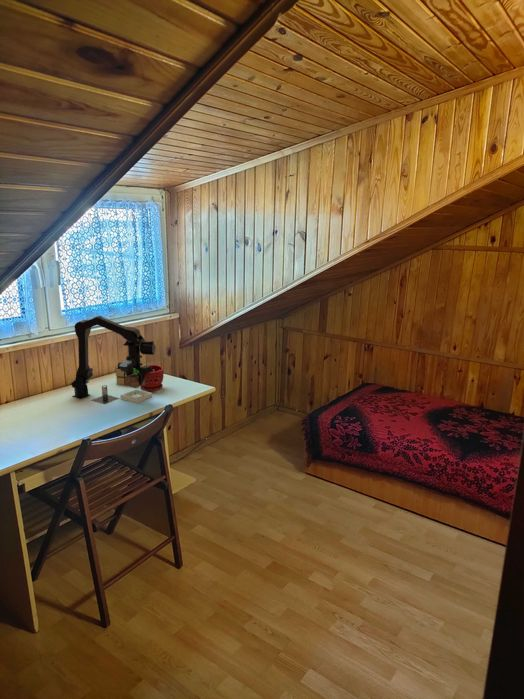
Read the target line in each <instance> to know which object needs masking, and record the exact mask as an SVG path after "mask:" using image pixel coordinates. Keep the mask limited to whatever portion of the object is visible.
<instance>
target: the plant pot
mask: <svg viewBox="0 0 524 699" xmlns="http://www.w3.org/2000/svg"><path fill="white" fill-rule="evenodd" d="M147 366H151V367H152V372H150V373H147V374H146V376H145V385H143V386H140V388H141V389H140V390H142V391H147V392H151V393H153V392H157V391H160V390H161V389H163V386H164V385H163V382H164V381H163V380H164V374H165V373H164V371H165V370H164V367H163V366H162V365H158V364H147Z"/></svg>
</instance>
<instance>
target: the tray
mask: <svg viewBox="0 0 524 699" xmlns="http://www.w3.org/2000/svg"><path fill="white" fill-rule="evenodd" d="M152 397H153V392H149V391H144V390H142V389H138V388H134V389H132V390H130V391H127V392H125V393H122V394H120V400H122V401H127V402H130V403H134V404H138V403H140V402H142V401H143V402H144V401H145V400H147V399H150V398H152Z"/></svg>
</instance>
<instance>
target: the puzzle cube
mask: <svg viewBox="0 0 524 699" xmlns="http://www.w3.org/2000/svg"><path fill="white" fill-rule="evenodd" d="M134 373H139V372H138V370H135V369H133V374H134ZM115 376H116V377H115V378H116V385H118V386H123V387H124V386H125V387H126V376H127V375H126V373H125V372H123V371H121V369H118V366H117V367H116V368H115Z"/></svg>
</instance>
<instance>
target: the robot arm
mask: <svg viewBox="0 0 524 699" xmlns="http://www.w3.org/2000/svg"><path fill="white" fill-rule="evenodd" d="M95 326H99V327H101V328H104V329H106V330H109V331H111V332H114V333H116V334H118V335H120V336H121V337H122V338H123V339H125V340H126V341H125V343H123V346H125V347H127V356H126V358H125V360H124V361H120V362H118V364H117V367H118V369H121V371H123V372H125V373H126V375H127V376H128V375H131V374H133V369H135V370H138V372H139V373H137V375H138V376H139V384H140V385H142V383H143V380H144V378H145V376H146V374H147V373H150V372H152V367H151V366H147V365H148V364H147V365H144V366H143V362H141V359H142V358H143V355H148V356H154V355H156V352H157V351H156V348H157V347H156V344H155V341H154V340H150V341H147V340H146V339H145V338H144V336H142V334H141V331H140V330H139V329H138V328H136V327H131V326H125V325H122V324H120V323H117V322H115V321H112V320H110V319H108V318H105V317H103V316H102V315H97V316H94V317H92V318H90V319H82V320H80V321H78V322H76V323H75V324H74V332H75V336H76V337H77V339H78V340H77V341H78V342H77V345H78V346H77V347H78V367H77V370H76V374H75V379H74V380H73V381H72V382H71V383H70V385H71V387H72V389H73V391H74V395H72V397H73V398H76V399H79V400H83V399H84V398H85V399H86V398H88V397H90V396H91V394H89V387H88V384H89V382H90V380H91V379H92V378H93V376H94V374H93V370H94V369H93V367H90V364H89V337H90V334H91V330H92V327H95ZM141 354H142V355H141Z"/></svg>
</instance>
